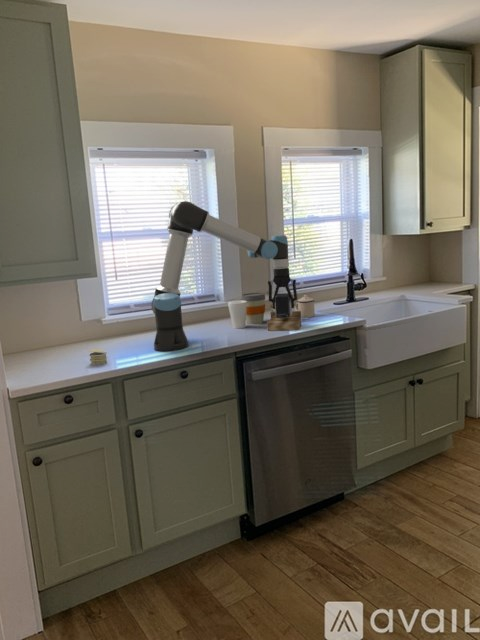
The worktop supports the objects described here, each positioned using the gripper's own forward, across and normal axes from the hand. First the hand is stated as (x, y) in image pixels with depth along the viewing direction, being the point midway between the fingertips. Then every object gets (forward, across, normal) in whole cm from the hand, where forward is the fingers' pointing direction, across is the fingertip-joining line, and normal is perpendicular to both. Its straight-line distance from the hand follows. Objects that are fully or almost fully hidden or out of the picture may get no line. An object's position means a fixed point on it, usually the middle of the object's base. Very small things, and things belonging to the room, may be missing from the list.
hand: (284, 315), depth 264 cm
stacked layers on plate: (+7, +69, +61) cm, 92 cm away
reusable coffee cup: (+7, +18, -18) cm, 26 cm away
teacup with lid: (+7, -7, -32) cm, 33 cm away
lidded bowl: (+7, +3, -19) cm, 20 cm away
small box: (+1, 0, 0) cm, 1 cm away
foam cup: (+7, +24, -6) cm, 26 cm away
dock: (+7, 0, -1) cm, 7 cm away
